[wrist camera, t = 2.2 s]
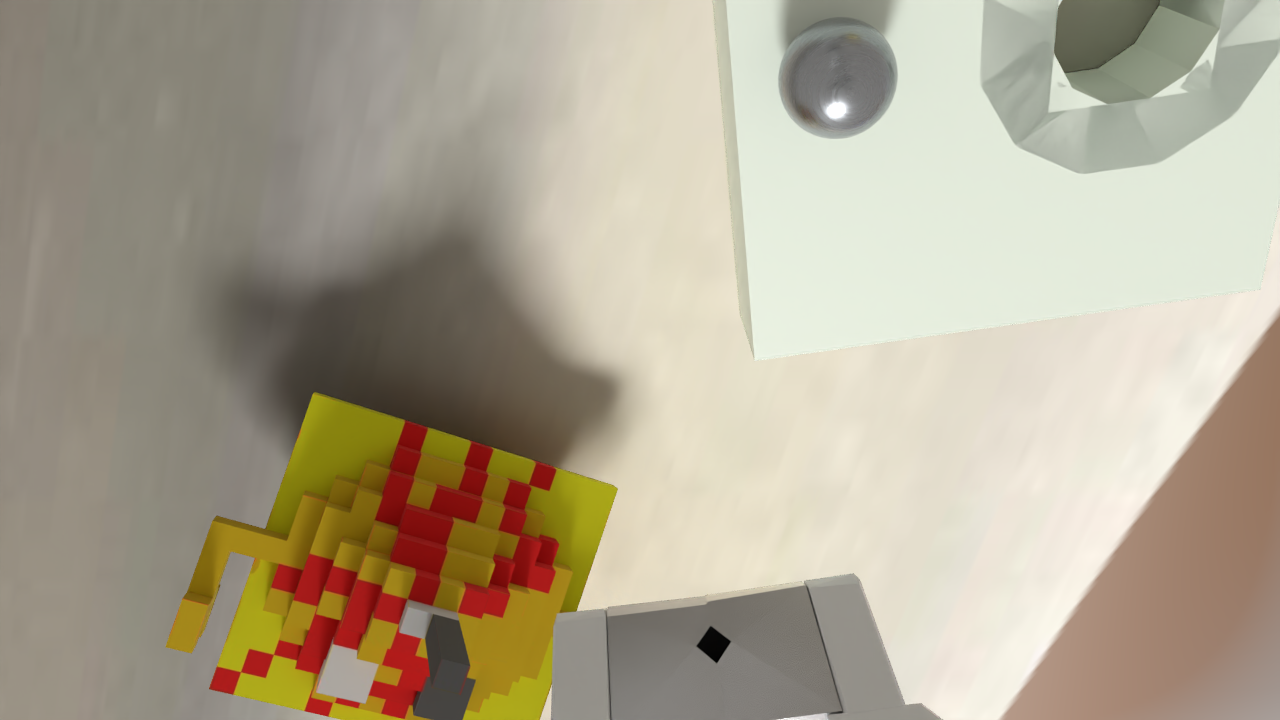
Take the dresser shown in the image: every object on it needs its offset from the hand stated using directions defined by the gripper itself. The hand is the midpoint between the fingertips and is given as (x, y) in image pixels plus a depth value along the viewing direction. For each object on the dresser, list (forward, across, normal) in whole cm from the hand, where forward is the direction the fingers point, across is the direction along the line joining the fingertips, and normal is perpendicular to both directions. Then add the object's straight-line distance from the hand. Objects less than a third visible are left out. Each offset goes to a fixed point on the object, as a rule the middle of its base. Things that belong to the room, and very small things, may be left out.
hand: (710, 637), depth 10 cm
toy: (+23, +9, +15) cm, 29 cm away
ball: (+18, -6, 0) cm, 19 cm away
